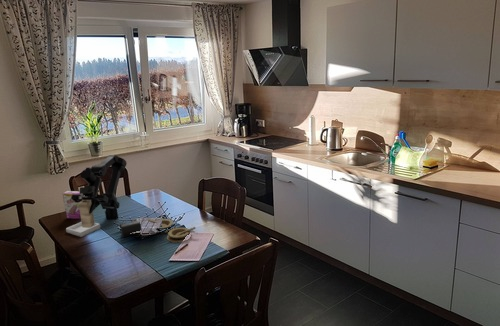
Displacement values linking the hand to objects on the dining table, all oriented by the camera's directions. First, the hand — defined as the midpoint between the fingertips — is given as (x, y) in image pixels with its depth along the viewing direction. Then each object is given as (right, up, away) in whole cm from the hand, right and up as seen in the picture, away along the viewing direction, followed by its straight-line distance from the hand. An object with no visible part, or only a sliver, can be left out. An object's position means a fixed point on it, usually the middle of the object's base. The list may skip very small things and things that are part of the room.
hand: (85, 213), depth 200 cm
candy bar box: (-18, -7, +30) cm, 36 cm away
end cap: (+23, -12, +5) cm, 26 cm away
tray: (-6, -11, +12) cm, 18 cm away
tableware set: (+44, -12, +6) cm, 46 cm away
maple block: (0, -7, +3) cm, 8 cm away
